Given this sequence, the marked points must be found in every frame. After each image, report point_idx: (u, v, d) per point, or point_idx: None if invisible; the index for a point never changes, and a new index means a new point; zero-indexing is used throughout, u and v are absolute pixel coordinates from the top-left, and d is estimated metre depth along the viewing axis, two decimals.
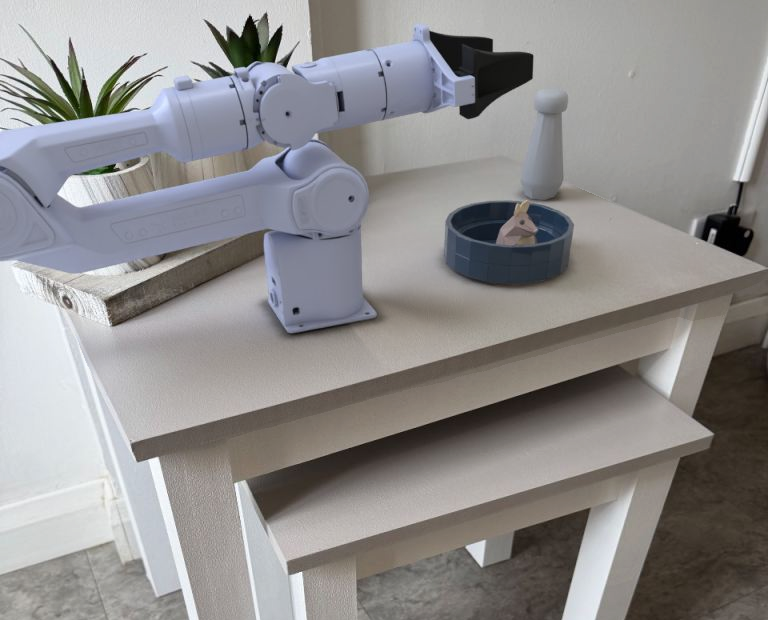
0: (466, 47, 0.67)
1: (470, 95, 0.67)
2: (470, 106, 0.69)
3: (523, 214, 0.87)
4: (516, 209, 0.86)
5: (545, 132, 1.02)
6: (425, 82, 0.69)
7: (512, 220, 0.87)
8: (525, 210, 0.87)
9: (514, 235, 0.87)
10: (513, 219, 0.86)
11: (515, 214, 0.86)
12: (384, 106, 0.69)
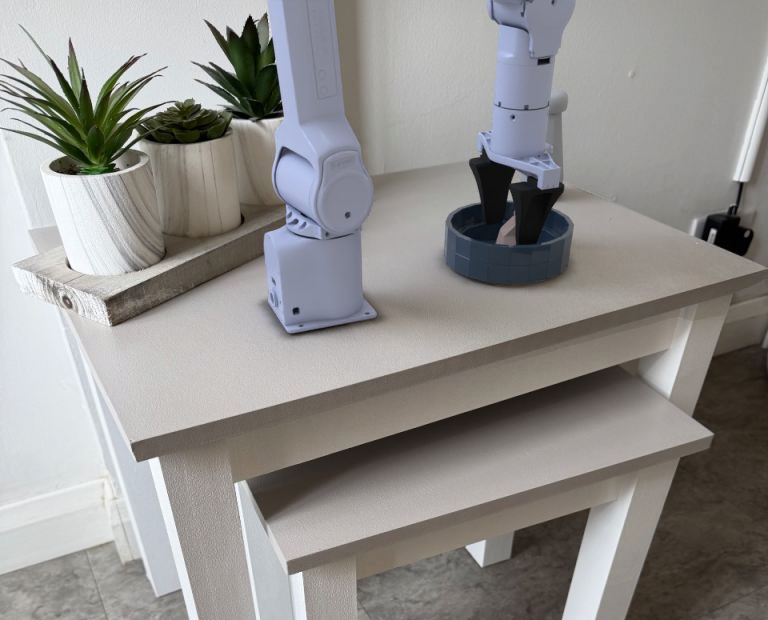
0: (560, 182, 0.82)
1: (548, 184, 0.79)
2: (529, 188, 0.80)
3: None
4: None
5: None
6: (532, 148, 0.81)
7: (512, 220, 0.87)
8: None
9: (514, 234, 0.87)
10: (513, 219, 0.86)
11: None
12: (529, 107, 0.78)
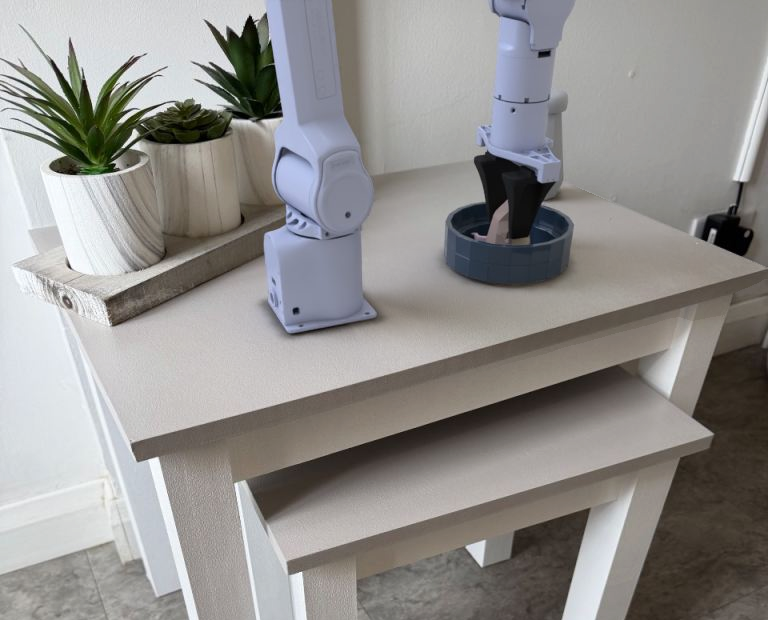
0: None
1: (548, 178, 0.79)
2: (522, 178, 0.81)
3: None
4: None
5: None
6: (532, 142, 0.80)
7: (506, 205, 0.87)
8: None
9: None
10: (507, 204, 0.86)
11: None
12: (529, 100, 0.78)
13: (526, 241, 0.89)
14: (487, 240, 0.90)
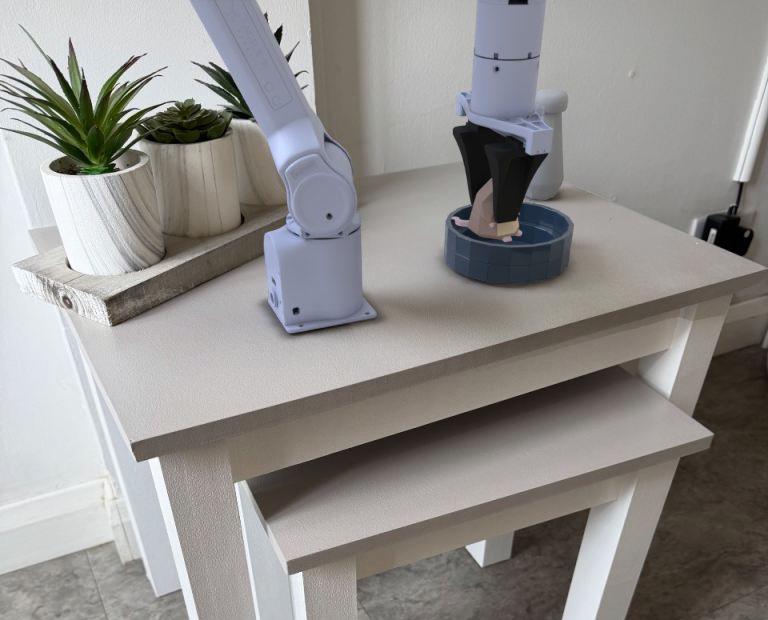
0: None
1: (538, 149, 0.67)
2: (508, 150, 0.68)
3: None
4: None
5: None
6: (520, 107, 0.68)
7: (490, 183, 0.74)
8: None
9: None
10: None
11: None
12: (499, 57, 0.66)
13: (514, 225, 0.77)
14: (469, 225, 0.77)
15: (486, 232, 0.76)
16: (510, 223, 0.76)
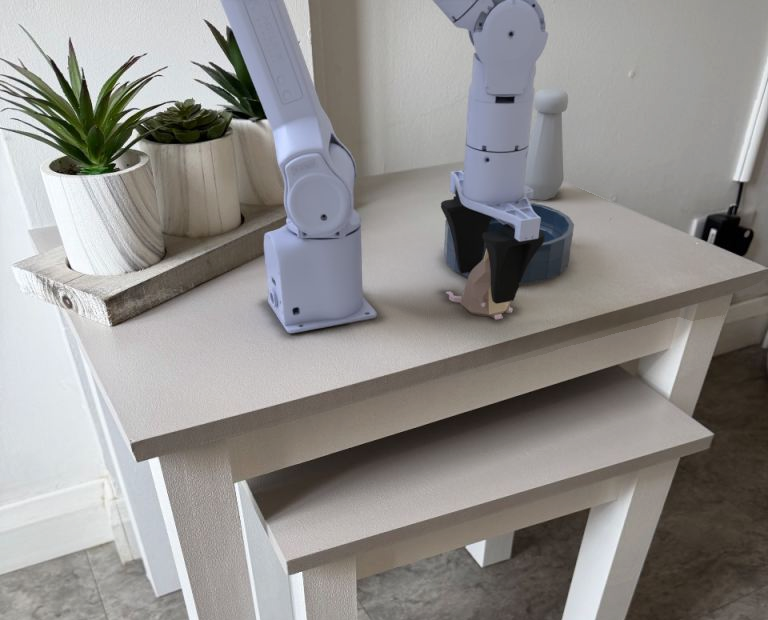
0: (540, 231, 0.73)
1: (526, 235, 0.70)
2: (505, 239, 0.71)
3: None
4: (486, 254, 0.78)
5: (545, 132, 1.02)
6: (509, 194, 0.72)
7: (482, 265, 0.78)
8: None
9: (484, 281, 0.79)
10: (483, 264, 0.78)
11: (485, 259, 0.78)
12: (487, 149, 0.69)
13: (505, 304, 0.81)
14: (462, 302, 0.81)
15: (478, 310, 0.80)
16: None
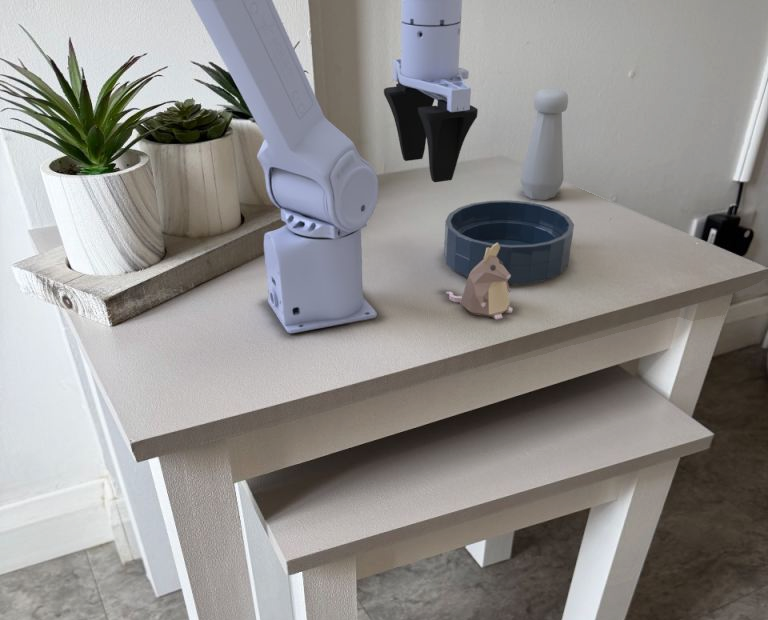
0: (474, 107, 0.77)
1: (457, 106, 0.74)
2: (438, 111, 0.75)
3: (494, 258, 0.79)
4: (486, 254, 0.78)
5: (545, 132, 1.02)
6: (443, 70, 0.76)
7: (482, 265, 0.78)
8: (495, 254, 0.79)
9: (484, 281, 0.79)
10: (483, 264, 0.78)
11: (485, 259, 0.78)
12: (445, 23, 0.73)
13: (505, 304, 0.81)
14: (462, 302, 0.81)
15: (478, 310, 0.80)
16: (501, 302, 0.80)
